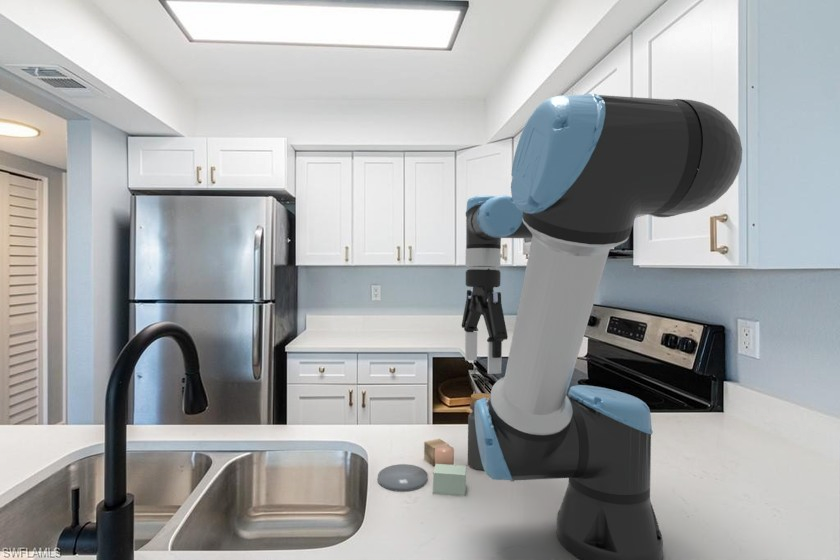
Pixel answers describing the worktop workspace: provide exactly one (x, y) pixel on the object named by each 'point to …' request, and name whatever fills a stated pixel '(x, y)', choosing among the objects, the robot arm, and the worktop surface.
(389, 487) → the coaster
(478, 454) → the bottle
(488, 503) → the worktop surface
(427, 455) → the oak block
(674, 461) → the worktop surface
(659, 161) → the robot arm
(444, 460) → the salmon pink block
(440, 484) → the sage block
